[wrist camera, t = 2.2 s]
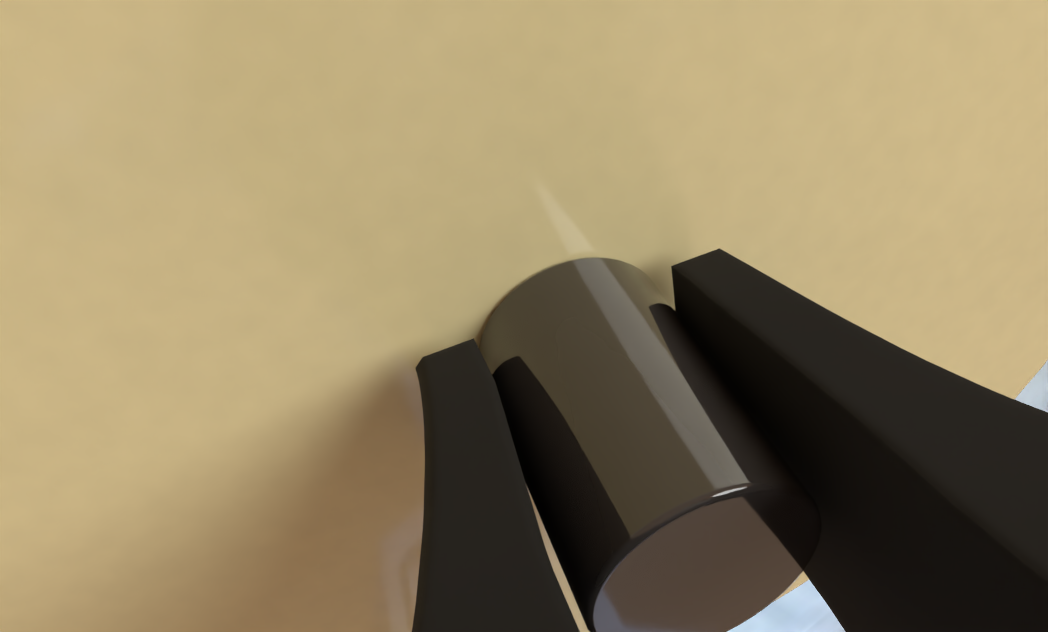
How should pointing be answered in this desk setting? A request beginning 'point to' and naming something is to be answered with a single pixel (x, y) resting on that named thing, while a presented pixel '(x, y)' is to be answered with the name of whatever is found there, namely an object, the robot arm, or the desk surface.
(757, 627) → the desk surface
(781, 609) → the desk surface
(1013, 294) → the pot lid
